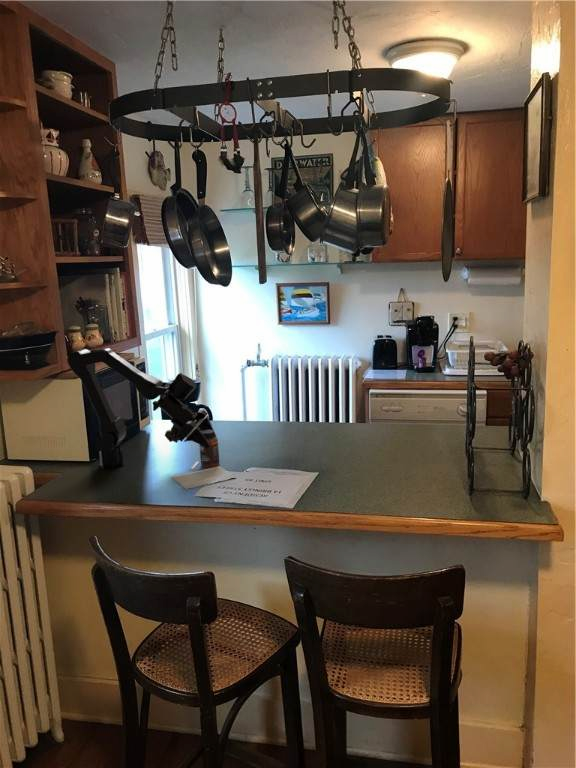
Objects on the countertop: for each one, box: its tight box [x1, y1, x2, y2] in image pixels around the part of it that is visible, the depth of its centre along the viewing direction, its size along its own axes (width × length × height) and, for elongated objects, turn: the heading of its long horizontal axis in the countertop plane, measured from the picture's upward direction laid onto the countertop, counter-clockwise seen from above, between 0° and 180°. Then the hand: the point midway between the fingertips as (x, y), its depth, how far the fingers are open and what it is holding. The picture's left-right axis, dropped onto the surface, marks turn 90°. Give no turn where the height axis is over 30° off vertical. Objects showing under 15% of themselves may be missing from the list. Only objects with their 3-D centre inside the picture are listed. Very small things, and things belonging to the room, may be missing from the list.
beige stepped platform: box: [171, 465, 230, 490], centre depth 187 cm, size 16×12×1 cm
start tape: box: [190, 460, 200, 470], centre depth 199 cm, size 1×7×1 cm, turn 173°
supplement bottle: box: [198, 429, 220, 469], centre depth 197 cm, size 6×6×11 cm
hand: (212, 442), depth 197 cm, fingers open, 9 cm apart
